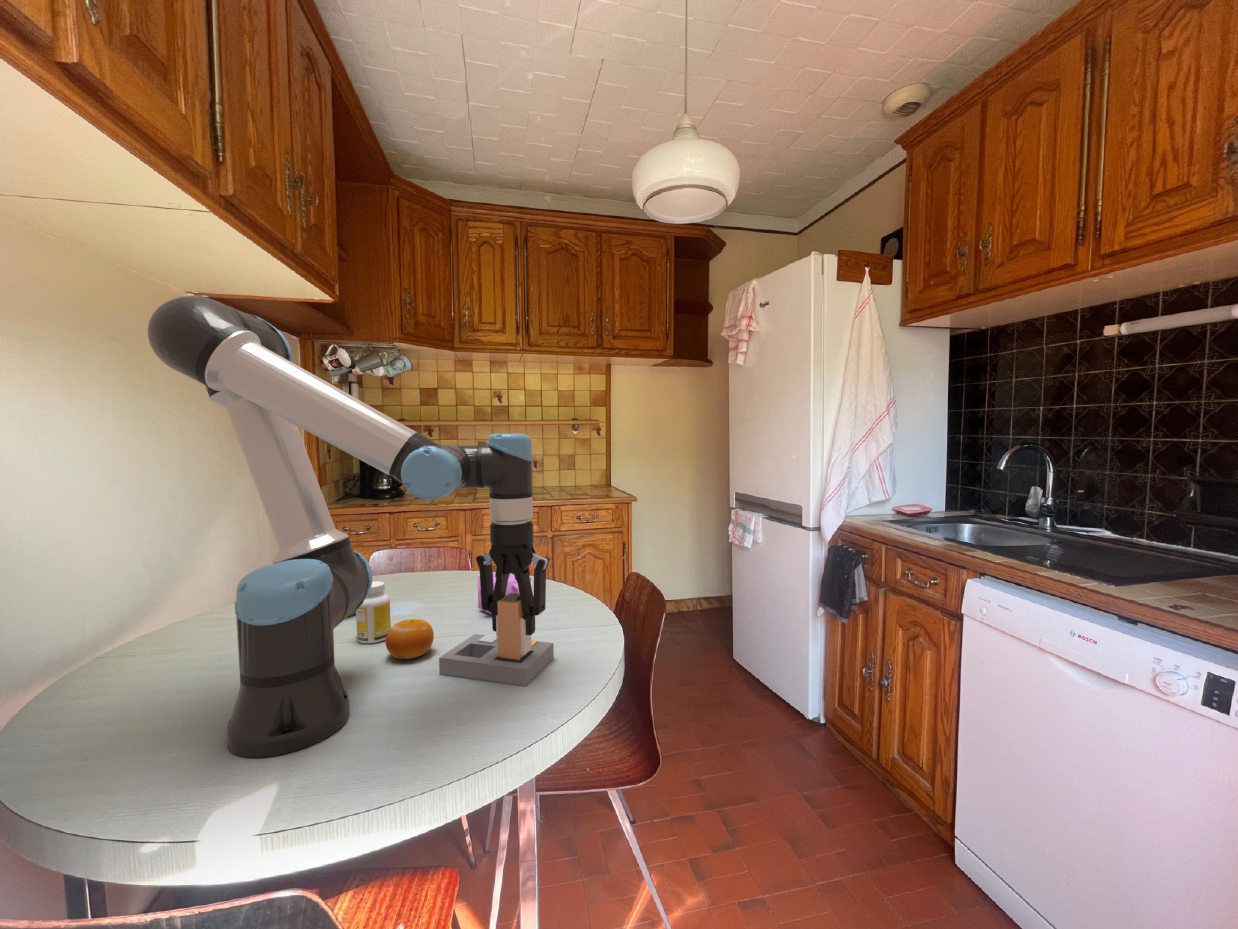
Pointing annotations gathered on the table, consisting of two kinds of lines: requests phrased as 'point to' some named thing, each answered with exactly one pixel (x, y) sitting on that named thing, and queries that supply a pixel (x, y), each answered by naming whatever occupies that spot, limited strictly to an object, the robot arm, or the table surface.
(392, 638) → the fruit
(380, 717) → the table surface
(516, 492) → the robot arm
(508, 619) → the plug
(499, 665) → the socket board
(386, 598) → the pill bottle
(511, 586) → the teapot
